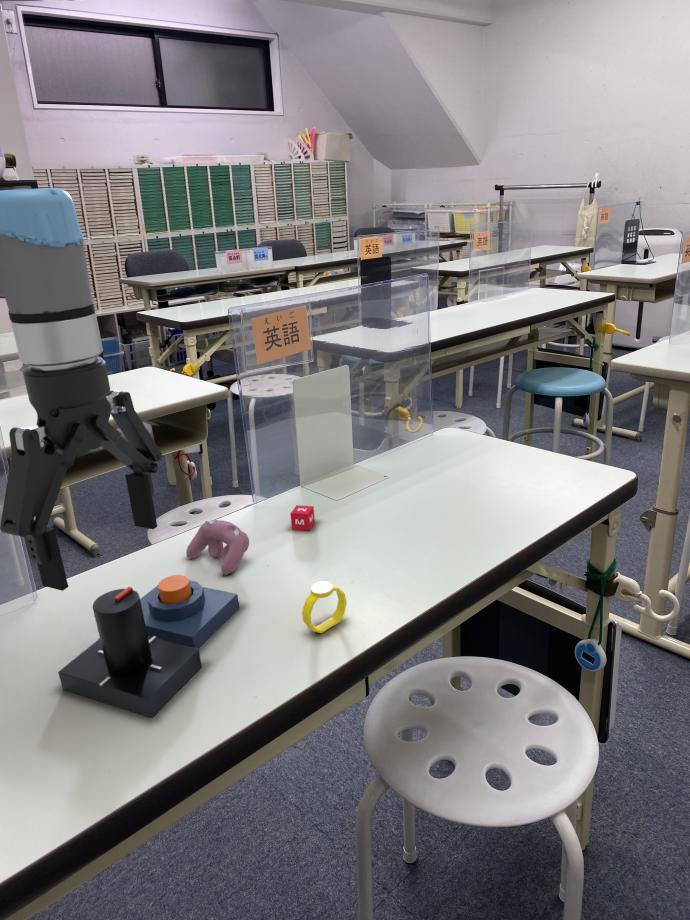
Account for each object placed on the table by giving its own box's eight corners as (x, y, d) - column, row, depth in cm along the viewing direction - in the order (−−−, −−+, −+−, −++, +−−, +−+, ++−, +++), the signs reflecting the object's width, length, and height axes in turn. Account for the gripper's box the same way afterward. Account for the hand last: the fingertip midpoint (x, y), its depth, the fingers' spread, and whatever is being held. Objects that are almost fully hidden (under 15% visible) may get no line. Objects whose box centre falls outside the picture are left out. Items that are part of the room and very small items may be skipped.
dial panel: (61, 690, 78) (56, 671, 77) (117, 643, 86) (113, 625, 85) (151, 718, 73) (147, 698, 72) (202, 666, 81) (199, 647, 80)
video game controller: (246, 576, 102) (257, 530, 102) (223, 576, 98) (234, 529, 98) (205, 557, 108) (215, 514, 108) (182, 557, 105) (192, 512, 105)
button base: (119, 632, 88) (113, 606, 87) (168, 592, 97) (163, 567, 95) (194, 652, 83) (189, 624, 82) (239, 607, 92) (235, 582, 90)
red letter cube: (292, 529, 112) (290, 513, 111) (298, 521, 115) (296, 505, 114) (309, 530, 111) (307, 514, 110) (315, 522, 114) (313, 506, 113)
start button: (153, 601, 88) (151, 588, 87) (173, 585, 91) (171, 572, 90) (179, 607, 86) (176, 593, 85) (198, 591, 89) (195, 577, 89)
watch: (338, 612, 89) (334, 572, 87) (351, 621, 87) (348, 581, 85) (300, 632, 86) (296, 591, 83) (314, 642, 84) (310, 600, 81)
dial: (131, 678, 75) (117, 615, 72) (97, 668, 77) (81, 606, 74) (160, 651, 80) (148, 590, 77) (127, 642, 82) (113, 582, 79)
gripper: (122, 333, 78) (152, 501, 86) (-84, 394, 57) (-20, 609, 65) (175, 335, 75) (201, 510, 83) (-23, 400, 54) (37, 626, 62)
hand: (104, 554), depth 74 cm, fingers open, 13 cm apart
